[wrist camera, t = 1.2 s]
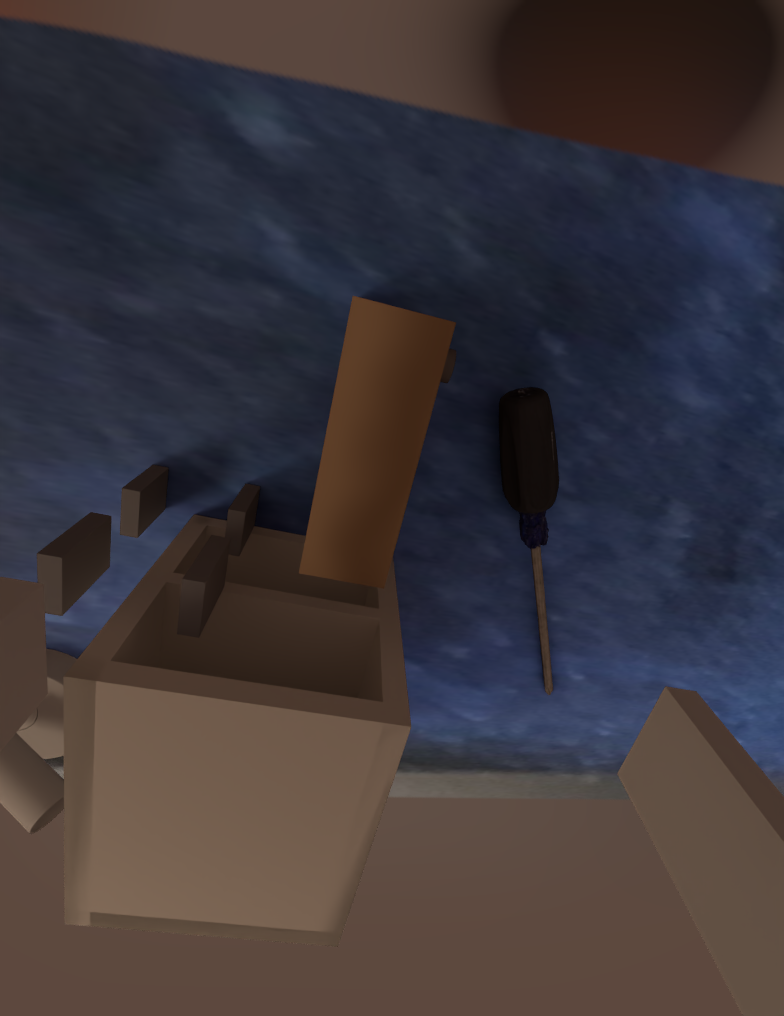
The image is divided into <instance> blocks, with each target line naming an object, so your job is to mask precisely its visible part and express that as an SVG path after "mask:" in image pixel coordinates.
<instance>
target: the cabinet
mask: <svg viewBox="0 0 784 1016" xmlns="http://www.w3.org/2000/svg"><path fill="white" fill-rule="evenodd" d="M168 470H169V468H167V467H162V466H157V465H152V466H150V467H149V468H148V469H146V470H145V471H144V472H143V473H141V474H140V475H139V476H137V477H136V478H135V479H133V480H132V481H131V482H130V483H128V484H127V485H126V486H124V487H123V488H122V499H121V522H120V535H125V536H130V537H135V538H138V537H139V536H140V535H141V534H142V533H143V532H144V531H145V530H146V529H147V527H148V526H149V525H150V524H151V523H152V522H153V521H154V520H155V519H156V518H157V517H158V516H159V515H160V514H161V513H162V512H163V511H164V510H165V508H166V495H167V482H168ZM259 492H260V486H256V485H251V484H246V483H245V485H244V486H243V488H242V489H241V491H240V492H239V494H238V495H237V497H236V498H235V500H234V501H233V503H232V504H231V506H230V507H229V509H228V516H227V521H226V520H220V519H215V518H210V517H205V516H200V515H193V516H192V518H191V519H190V520H189V521H188V523H187V524H186V525H185V526H184V528H183V529H182V530H181V531H180V532H179V534H178V535H177V536H176V537H175V539H174V540H173V541H172V542H171V544H170V545H169V546H168V547H167V549H166V550H165V551H164V552H163V554H162V555H161V556H160V557H159V559H158V560H157V561H156V562H155V563H154V565H153V566H152V567H151V568H150V570H149V571H148V572H147V573H146V575H145V576H144V577H143V578H142V580H141V581H140V582H139V583H138V585H137V586H136V587H135V588H134V590H133V591H132V592H131V593H130V595H129V596H128V597H127V598H126V599H125V601H124V602H123V603H122V604H121V606H120V607H119V608H118V609H117V611H116V612H115V613H114V614H113V616H112V617H111V618H110V619H109V621H108V622H107V623H106V624H105V626H104V627H103V628H102V629H101V630H100V632H99V633H98V634H97V635H96V637H95V638H94V639H93V640H92V642H91V643H90V644H89V645H88V647H87V648H86V649H85V650H84V652H83V653H82V654H81V655H80V657H79V658H78V659H77V660H76V661H75V663H74V664H73V665H72V666H71V668H70V669H69V670H68V671H67V673H66V674H65V675H64V676H63V689H64V917H65V918H64V924H70V925H82V926H94V927H107V928H118V929H131V930H142V931H155V932H166V933H178V934H190V935H203V936H214V937H227V938H238V939H250V940H262V941H263V940H264V941H275V942H286V943H298V944H311V945H322V946H334V947H338V945H339V942H340V939H341V936H342V933H343V930H344V927H345V924H346V921H347V918H348V915H349V912H350V909H351V906H352V903H353V900H354V897H355V894H356V891H357V888H358V885H359V882H360V879H361V876H362V873H363V870H364V867H365V864H366V861H367V858H368V855H369V852H370V849H371V846H372V843H373V840H374V837H375V834H376V831H377V828H378V825H379V822H380V819H381V816H382V813H383V810H384V807H385V803H386V801H387V798H388V795H389V792H390V789H391V786H392V783H393V780H394V777H395V774H396V771H397V768H398V765H399V762H400V759H401V756H402V753H403V750H404V747H405V744H406V741H407V738H408V735H409V732H410V729H411V720H410V711H409V702H408V692H407V683H406V674H405V664H404V655H403V645H402V636H401V627H400V617H399V608H398V598H397V589H396V580H395V570H394V561H393V557H392V561H391V565H390V568H389V572H388V576H387V579H386V583H385V587H384V589H383V588H377V587H372V586H366V585H361V584H355V583H350V582H344V581H339V580H333V579H328V578H322V577H317V576H311V575H306V574H300V573H299V569H300V564H301V559H302V554H303V549H304V544H305V539H306V536H303V535H298V534H293V533H288V532H283V531H278V530H272V529H267V528H262V527H257V526H254V525H255V519H256V512H257V506H258V499H259ZM110 544H111V516H109V515H103V514H98V513H93V512H90V513H89V514H88V515H86V516H85V517H84V518H83V519H81V520H80V521H79V522H77V523H76V524H75V525H73V526H72V527H71V528H70V529H68V530H67V531H66V532H64V533H63V534H62V535H60V536H59V537H58V538H56V539H55V540H54V541H53V542H51V543H50V544H49V545H47V546H46V547H45V548H43V549H42V550H41V551H40V552H38V553H37V575H38V583H41V584H44V607H45V613H48V614H54V615H60V616H63V614H64V613H65V612H66V611H67V610H68V609H69V608H70V607H71V606H72V605H73V604H74V603H75V602H76V601H77V600H78V599H79V598H80V597H81V596H82V595H83V594H84V593H85V592H86V591H87V590H88V589H89V588H90V587H91V585H92V584H93V583H94V582H95V581H96V580H97V579H98V578H99V577H100V576H101V575H102V574H103V573H104V572H105V571H106V570H107V569H108V568H109V567H110Z"/></svg>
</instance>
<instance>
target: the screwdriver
mask: <svg viewBox="0 0 784 1016" xmlns="http://www.w3.org/2000/svg"><path fill="white" fill-rule="evenodd" d="M499 440H500V462H501V477H502V487H503V492H504V495H505V497H506V499H507V501H508V503H509V504H510V505H511V507H512V508H513V509H515V510H516V511H518V512H519V514H520V520H519V527H520V536H521V540H522V541H523V542H524V543H525V545H527V547H529V548H530V549H531V556H532V565H533V576H534V586H535V596H536V605H537V615H538V625H539V636H540V646H541V656H542V666H543V676H544V686H545V692H546V693H547V694H548V695H550V694H551V692H552V691H553V683H552V671H551V660H550V649H549V638H548V627H547V616H546V605H545V592H544V582H543V571H542V560H541V547H540V545H546V544H547V541H548V531H549V530H548V528H547V521H546V517H545V513H546V510H547V509H549V508H550V507H551V506H552V505H553V504H554V502H555V499H556V496H557V491H558V487H559V472H558V460H557V449H556V439H555V430H554V423H553V416H552V410H551V405H550V401H549V397H548V394H547V393H546V392H545V391H544V390H542V389H540V388H533V387H529V388H521V389H516V390H513V391H510V392H508V393H506V394H505V395H503V396H502V398H501V399H500V403H499Z"/></svg>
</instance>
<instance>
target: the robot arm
mask: <svg viewBox="0 0 784 1016" xmlns="http://www.w3.org/2000/svg"><path fill="white" fill-rule="evenodd" d="M47 694H48V686H47V660H46V633H45V607H44V584H41V583H35V582H29V581H23V580H17V579H11V578H5V577H0V752H1V750H2V749H3V748H4V747H5V746H6V744H7V743H8V742H9V741H10V739H11V738H12V737H13V736H14V735H15V733H16V732H17V731H18V730H19V729H20V727H21V726H22V725H23V724H24V722H25V721H26V720H27V719H28V718H29V716H30V715H31V714H32V713H33V711H34V710H35V709H36V708H37V707H38V705H39V704H40V703H41V702H42V701H43V699H44V698H45V697H46V696H47ZM618 776H619V778H620V780H621V782H622V784H623V786H624V788H625V790H626V792H627V794H628V795H629V797H630V799H631V801H632V803H633V805H634V807H635V809H636V811H637V813H638V815H639V817H640V818H641V821H642V822H643V824H644V826H645V828H646V830H647V832H648V834H649V836H650V838H651V840H652V842H653V844H654V846H655V848H656V849H657V851H658V853H659V855H660V857H661V859H662V861H663V863H664V865H665V867H666V869H667V871H668V873H669V875H670V876H671V878H672V880H673V882H674V884H675V886H676V888H677V890H678V892H679V894H680V895H681V898H682V900H683V902H684V903H685V905H686V907H687V909H688V911H689V913H690V915H691V917H692V919H693V921H694V923H695V925H696V927H697V929H698V930H699V932H700V934H701V936H702V938H703V940H704V942H705V944H706V946H707V948H708V950H709V952H710V954H711V956H712V957H713V959H714V961H715V963H716V965H717V967H718V969H719V971H720V973H721V975H722V977H723V979H724V981H725V983H726V984H727V986H728V988H729V990H730V992H731V994H732V996H733V998H734V1000H735V1002H736V1003H737V1006H738V1008H739V1009H740V1011H741V1013H742V1015H743V1016H784V797H783V795H782V794H781V793H780V792H779V791H778V789H777V788H776V787H775V786H774V785H773V783H772V782H771V781H770V780H769V779H768V777H767V776H766V775H765V774H764V773H763V771H762V770H761V769H760V768H759V767H758V765H757V764H756V763H755V762H754V761H753V759H752V758H751V757H750V756H749V755H748V753H747V752H746V751H745V750H744V748H743V747H742V746H741V745H740V744H739V742H738V741H737V740H736V739H735V738H734V736H733V735H732V734H731V733H730V732H729V730H728V729H727V728H726V727H725V726H724V724H723V723H722V722H721V721H720V720H719V718H718V717H717V716H716V715H715V714H714V712H713V711H712V710H711V709H710V707H709V706H708V705H707V704H706V703H705V701H704V700H703V699H702V698H701V697H700V695H699V694H698V693H697V692H696V691H690V690H684V689H678V688H672V687H666V686H665V688H664V690H663V692H662V693H661V695H660V697H659V699H658V701H657V702H656V704H655V706H654V708H653V710H652V712H651V713H650V715H649V717H648V719H647V721H646V723H645V724H644V726H643V728H642V730H641V732H640V733H639V735H638V737H637V739H636V741H635V743H634V744H633V746H632V748H631V750H630V752H629V753H628V755H627V757H626V759H625V761H624V763H623V764H622V766H621V768H620V770H619V772H618Z"/></svg>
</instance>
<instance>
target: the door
mask: <svg viewBox="0 0 784 1016" xmlns="http://www.w3.org/2000/svg"><path fill="white" fill-rule="evenodd" d="M455 325H456V322H452V321H448V320H444V319H440V318H437V317H433V316H429V315H425V314H421V313H417V312H413V311H410V310H406V309H402V308H398V307H394V306H390V305H387V304H383V303H379V302H375V301H371V300H367V299H364V298H360V297H356V296H353V298H352V303H351V308H350V313H349V318H348V323H347V328H346V334H345V339H344V344H343V349H342V354H341V359H340V364H339V369H338V375H337V380H336V385H335V390H334V395H333V400H332V405H331V410H330V416H329V421H328V426H327V431H326V436H325V441H324V446H323V451H322V457H321V462H320V467H319V472H318V477H317V482H316V487H315V493H314V498H313V503H312V508H311V513H310V518H309V523H308V528H307V534H306V539H305V544H304V549H303V554H302V559H301V564H300V569H299V573H300V574H306V575H311V576H317V577H322V578H328V579H333V580H339V581H344V582H350V583H355V584H361V585H366V586H372V587H377V588H383V589H384V587H385V583H386V579H387V576H388V572H389V568H390V565H391V561H392V557H393V554H394V550H395V546H396V543H397V539H398V535H399V531H400V528H401V524H402V520H403V517H404V513H405V509H406V506H407V502H408V498H409V495H410V491H411V487H412V483H413V480H414V476H415V472H416V469H417V465H418V461H419V458H420V454H421V450H422V446H423V443H424V439H425V435H426V432H427V428H428V424H429V421H430V417H431V413H432V410H433V406H434V402H435V398H436V395H437V391H438V387H439V384H440V382H444V383H448V382H449V380H450V378H451V375H452V372H453V369H454V365H455V360H456V350H452V349H449V347H450V343H451V339H452V336H453V332H454V328H455Z"/></svg>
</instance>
